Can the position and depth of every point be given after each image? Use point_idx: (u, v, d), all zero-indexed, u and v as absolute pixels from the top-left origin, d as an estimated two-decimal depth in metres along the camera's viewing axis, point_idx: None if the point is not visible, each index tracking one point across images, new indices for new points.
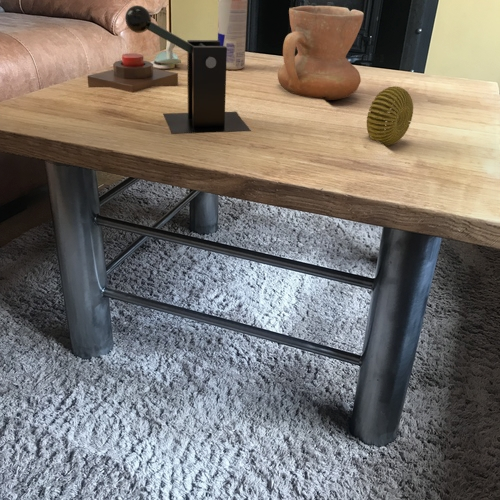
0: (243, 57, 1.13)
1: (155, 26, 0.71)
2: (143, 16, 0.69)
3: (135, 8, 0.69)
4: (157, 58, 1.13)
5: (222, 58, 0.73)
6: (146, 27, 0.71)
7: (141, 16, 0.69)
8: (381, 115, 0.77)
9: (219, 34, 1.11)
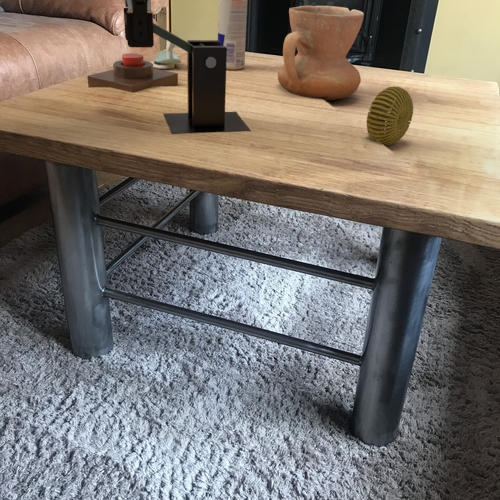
0: (243, 57, 1.13)
1: (155, 26, 0.71)
2: None
3: None
4: (157, 58, 1.13)
5: (222, 58, 0.73)
6: None
7: None
8: (381, 115, 0.77)
9: (219, 34, 1.11)
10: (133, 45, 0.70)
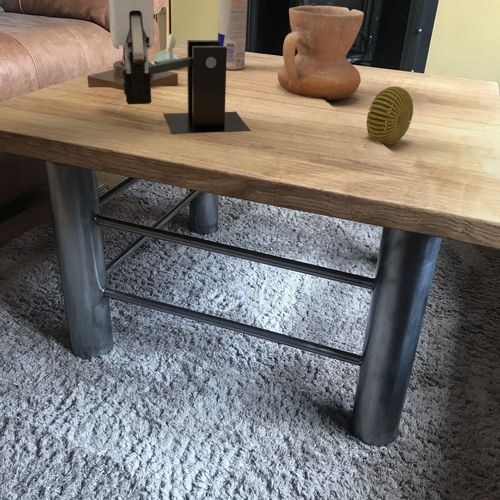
0: (243, 57, 1.13)
1: (149, 68, 0.74)
2: None
3: (124, 68, 0.73)
4: (157, 58, 1.13)
5: (222, 58, 0.73)
6: None
7: None
8: (381, 115, 0.77)
9: (219, 34, 1.11)
10: (132, 102, 0.73)
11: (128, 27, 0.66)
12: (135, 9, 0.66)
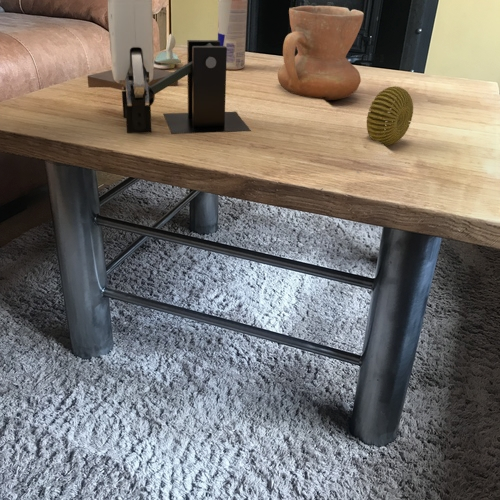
0: (243, 57, 1.13)
1: (156, 86, 0.75)
2: None
3: None
4: (157, 58, 1.13)
5: (222, 58, 0.73)
6: (152, 95, 0.75)
7: None
8: (381, 115, 0.77)
9: (219, 34, 1.11)
10: None
11: (129, 63, 0.68)
12: (136, 46, 0.68)
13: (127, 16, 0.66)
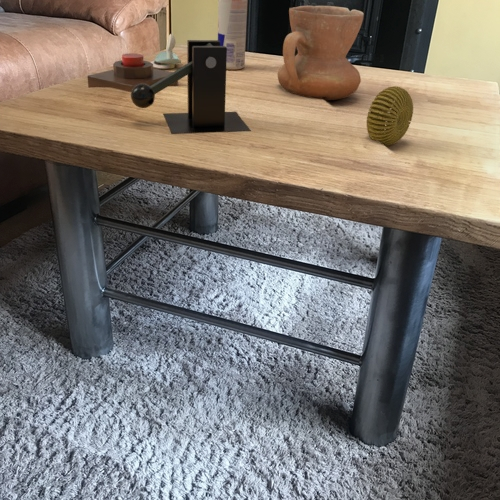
0: (243, 57, 1.13)
1: (156, 86, 0.75)
2: (142, 93, 0.74)
3: (133, 94, 0.74)
4: (157, 58, 1.13)
5: (222, 58, 0.73)
6: (152, 95, 0.75)
7: (141, 94, 0.74)
8: (381, 115, 0.77)
9: (219, 34, 1.11)
10: None
11: None
12: None
13: None
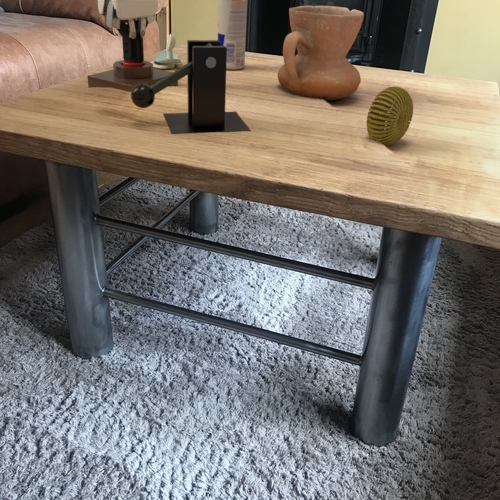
0: (243, 57, 1.13)
1: (156, 86, 0.75)
2: (142, 93, 0.74)
3: (133, 94, 0.74)
4: (157, 58, 1.13)
5: (222, 58, 0.73)
6: (152, 95, 0.75)
7: (141, 94, 0.74)
8: (381, 115, 0.77)
9: (219, 34, 1.11)
10: (126, 59, 0.96)
11: (103, 0, 0.88)
12: None
13: None
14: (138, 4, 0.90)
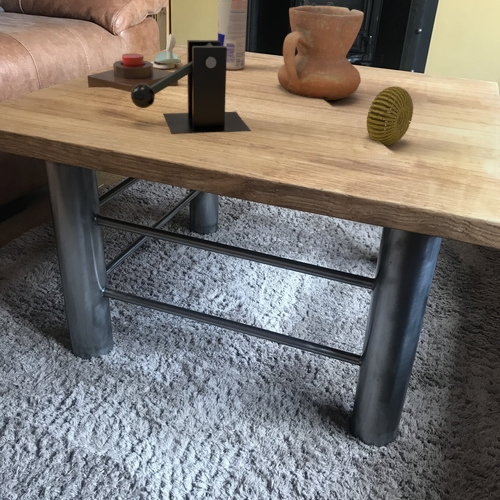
0: (243, 57, 1.13)
1: (156, 86, 0.75)
2: (142, 93, 0.74)
3: (133, 94, 0.74)
4: (157, 58, 1.13)
5: (222, 58, 0.73)
6: (152, 95, 0.75)
7: (141, 94, 0.74)
8: (381, 115, 0.77)
9: (219, 34, 1.11)
10: None
11: None
12: None
13: None
14: None
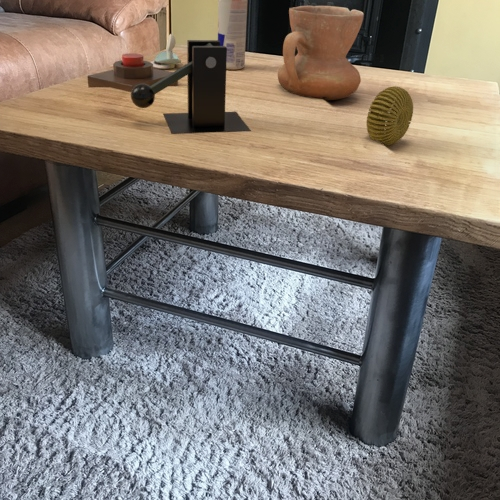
0: (243, 57, 1.13)
1: (156, 86, 0.75)
2: (142, 93, 0.74)
3: (133, 94, 0.74)
4: (157, 58, 1.13)
5: (222, 58, 0.73)
6: (152, 95, 0.75)
7: (141, 94, 0.74)
8: (381, 115, 0.77)
9: (219, 34, 1.11)
10: None
11: None
12: None
13: None
14: None
